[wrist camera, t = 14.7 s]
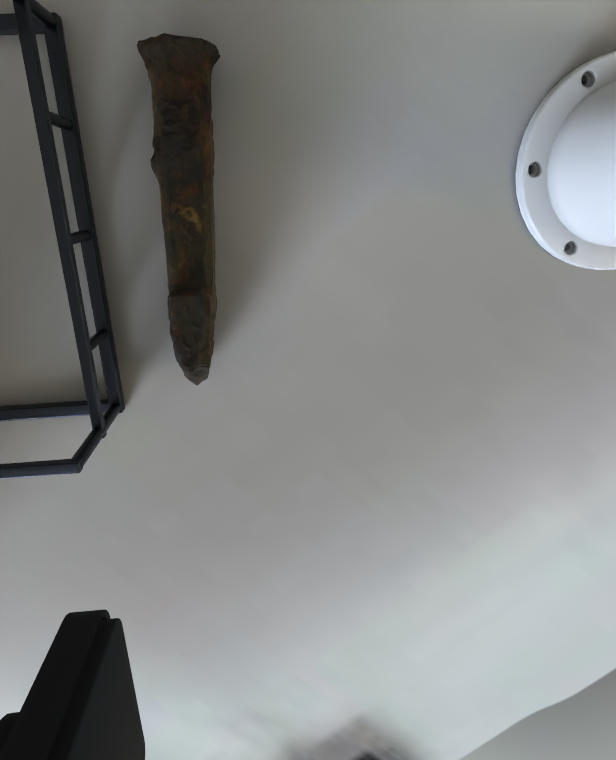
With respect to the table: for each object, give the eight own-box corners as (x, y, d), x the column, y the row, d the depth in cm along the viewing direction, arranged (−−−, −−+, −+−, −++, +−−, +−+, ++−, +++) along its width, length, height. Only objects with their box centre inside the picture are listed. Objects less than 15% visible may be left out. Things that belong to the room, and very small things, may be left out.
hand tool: (148, 46, 30) (128, 22, 26) (221, 52, 31) (213, 28, 26) (160, 371, 36) (145, 396, 32) (220, 373, 37) (214, 397, 32)
